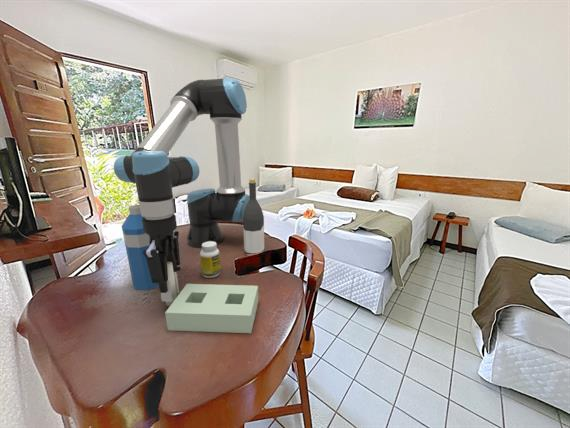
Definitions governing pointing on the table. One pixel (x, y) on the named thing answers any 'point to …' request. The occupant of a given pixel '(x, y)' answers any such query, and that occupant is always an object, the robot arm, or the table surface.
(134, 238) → the water bottle
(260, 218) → the wine bottle
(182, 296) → the socket block
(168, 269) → the dowel
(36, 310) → the table surface
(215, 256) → the pill bottle
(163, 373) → the table surface
